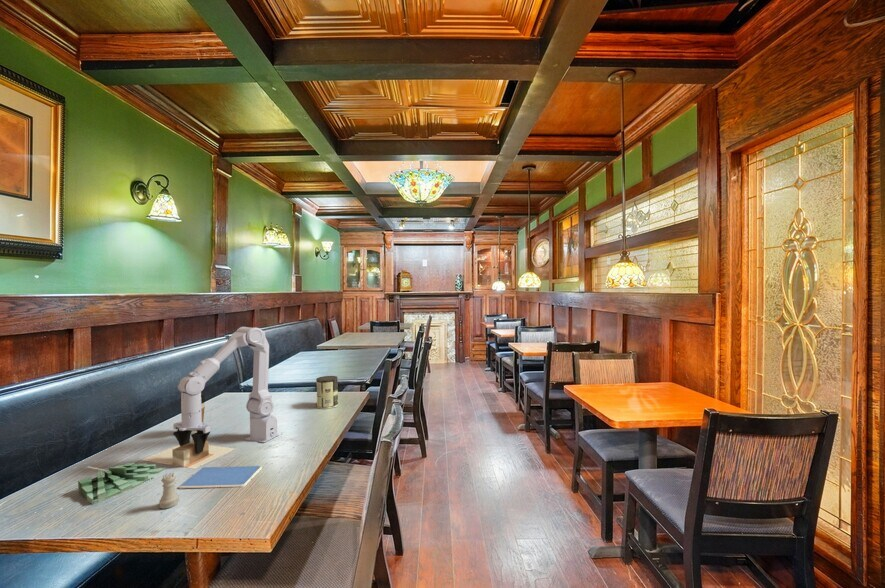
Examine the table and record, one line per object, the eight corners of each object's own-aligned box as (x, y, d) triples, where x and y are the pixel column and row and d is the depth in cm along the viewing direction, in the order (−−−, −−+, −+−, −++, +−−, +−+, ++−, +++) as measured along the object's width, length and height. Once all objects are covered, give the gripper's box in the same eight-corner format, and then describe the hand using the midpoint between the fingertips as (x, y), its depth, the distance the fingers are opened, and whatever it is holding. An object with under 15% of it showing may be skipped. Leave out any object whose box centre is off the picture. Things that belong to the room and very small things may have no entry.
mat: (235, 450, 136) (235, 448, 136) (194, 470, 121) (194, 468, 121) (185, 443, 144) (185, 441, 144) (141, 461, 128) (141, 459, 128)
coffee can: (331, 401, 196) (330, 374, 196) (342, 405, 189) (341, 377, 189) (312, 406, 188) (312, 378, 188) (323, 410, 181) (322, 381, 181)
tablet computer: (263, 468, 123) (263, 464, 123) (244, 489, 110) (244, 484, 110) (202, 470, 122) (202, 466, 122) (176, 491, 109) (176, 486, 109)
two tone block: (197, 453, 133) (197, 439, 133) (208, 455, 131) (208, 440, 131) (172, 464, 124) (172, 449, 124) (183, 466, 122) (183, 451, 122)
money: (115, 472, 121) (115, 457, 121) (167, 471, 122) (166, 456, 122) (54, 508, 101) (53, 490, 101) (116, 506, 102) (115, 488, 102)
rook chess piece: (165, 500, 103) (165, 471, 103) (182, 499, 104) (182, 470, 104) (154, 510, 99) (154, 479, 99) (172, 509, 99) (172, 478, 99)
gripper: (164, 413, 126) (164, 453, 126) (196, 417, 122) (197, 459, 122) (184, 407, 133) (185, 445, 133) (215, 410, 129) (216, 450, 129)
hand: (192, 451), depth 128 cm, fingers open, 6 cm apart
